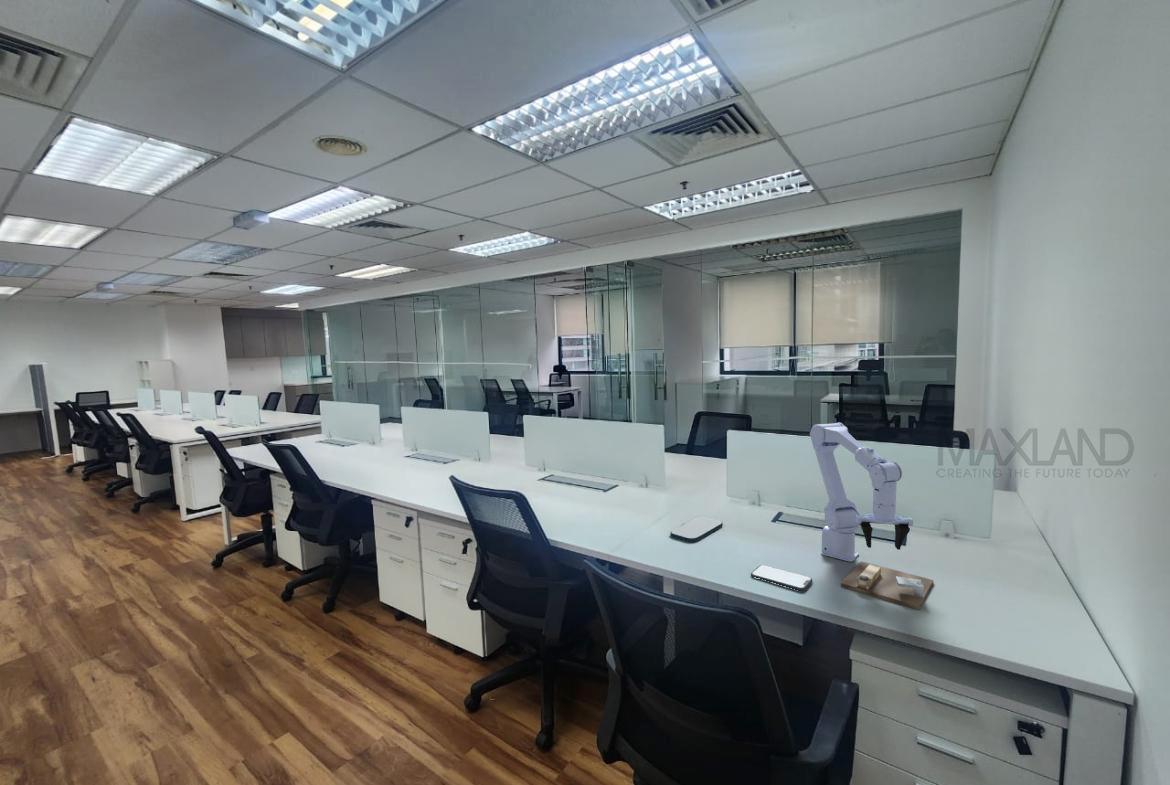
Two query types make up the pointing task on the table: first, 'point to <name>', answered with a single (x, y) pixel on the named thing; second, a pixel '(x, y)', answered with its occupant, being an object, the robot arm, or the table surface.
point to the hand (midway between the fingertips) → (883, 547)
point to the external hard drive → (696, 529)
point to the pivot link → (868, 576)
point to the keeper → (911, 585)
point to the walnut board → (888, 586)
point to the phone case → (782, 577)
